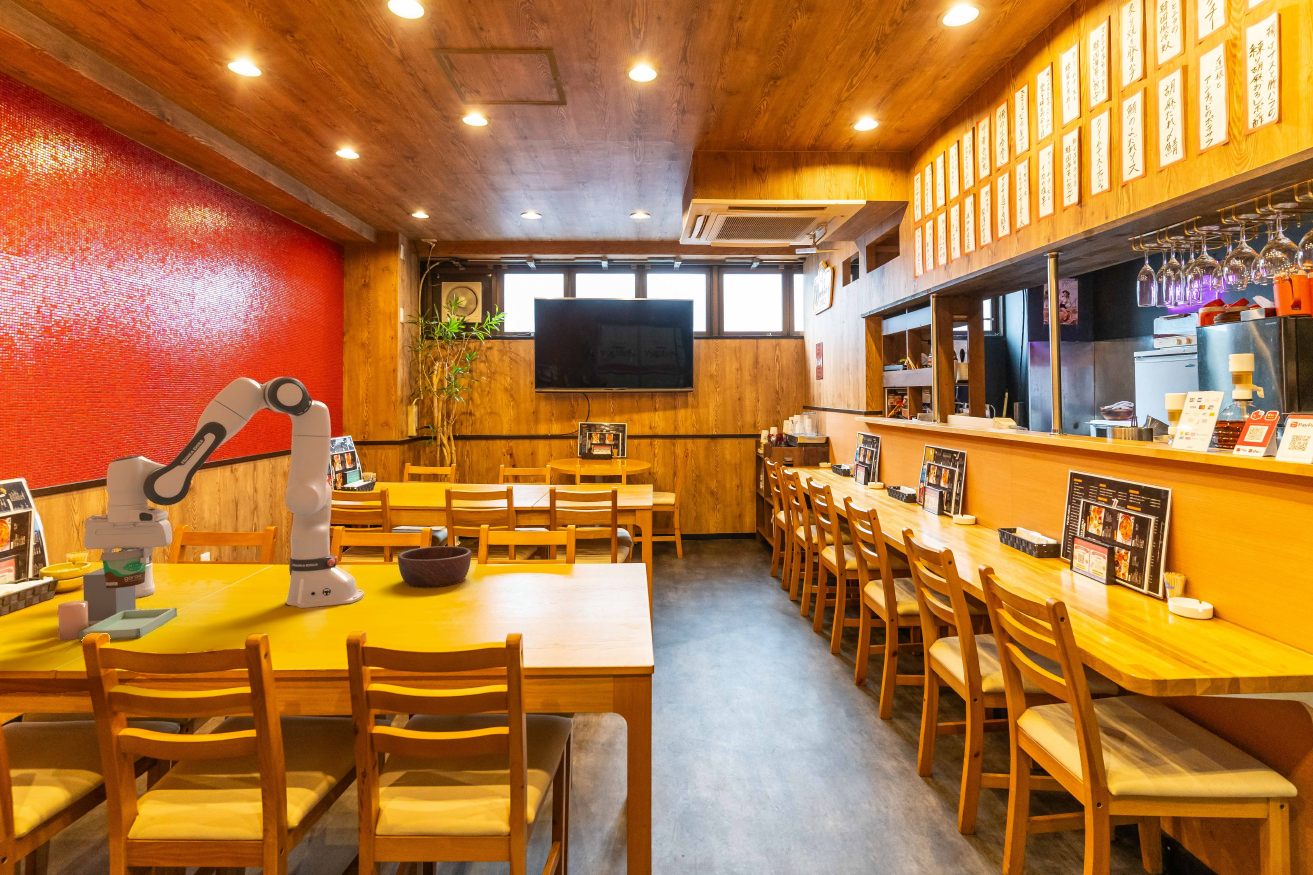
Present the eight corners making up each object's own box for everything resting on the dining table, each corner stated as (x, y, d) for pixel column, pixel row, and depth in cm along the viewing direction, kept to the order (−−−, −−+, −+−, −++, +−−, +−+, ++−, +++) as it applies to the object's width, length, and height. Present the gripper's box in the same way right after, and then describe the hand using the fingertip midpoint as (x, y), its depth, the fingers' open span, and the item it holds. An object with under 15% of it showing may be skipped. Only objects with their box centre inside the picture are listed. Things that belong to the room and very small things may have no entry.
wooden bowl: (408, 573, 252) (407, 546, 252) (476, 572, 255) (476, 545, 255) (389, 591, 227) (388, 561, 227) (465, 589, 230) (464, 559, 230)
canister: (93, 632, 184) (92, 599, 184) (79, 639, 178) (78, 605, 178) (68, 633, 183) (67, 601, 183) (53, 641, 177) (52, 607, 177)
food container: (119, 590, 181) (118, 553, 181) (100, 589, 182) (99, 552, 182) (161, 579, 193) (160, 544, 193) (143, 578, 194) (142, 544, 194)
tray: (176, 616, 199) (176, 607, 199) (140, 637, 180) (139, 628, 180) (122, 619, 196) (122, 610, 196) (79, 641, 177) (79, 632, 177)
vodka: (158, 590, 229) (155, 502, 228) (151, 596, 220) (149, 505, 219) (124, 593, 225) (121, 503, 224) (116, 600, 216) (113, 507, 215)
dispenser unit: (141, 611, 204) (140, 565, 204) (118, 622, 193) (117, 574, 192) (103, 613, 202) (102, 566, 202) (78, 625, 190) (76, 576, 190)
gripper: (77, 517, 182) (78, 568, 182) (163, 514, 186) (164, 564, 186) (91, 513, 188) (93, 563, 188) (174, 511, 192) (175, 559, 193)
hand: (129, 563), depth 187 cm, fingers closed on food container, 6 cm apart
